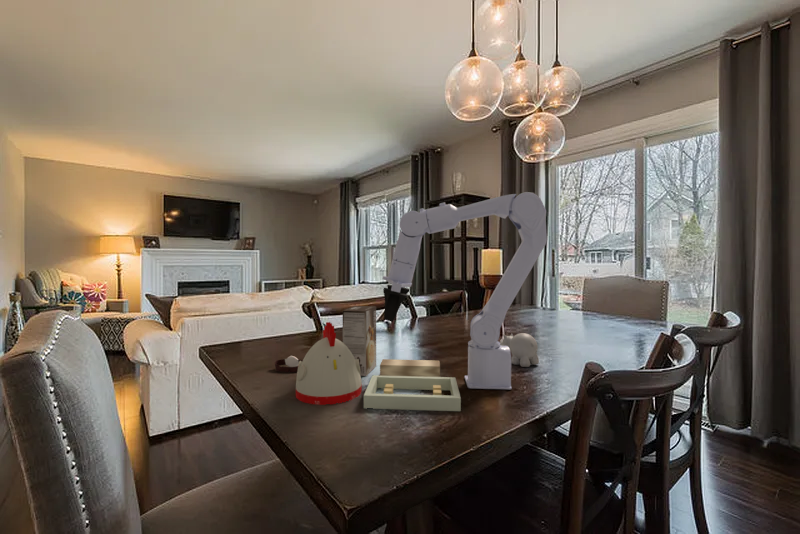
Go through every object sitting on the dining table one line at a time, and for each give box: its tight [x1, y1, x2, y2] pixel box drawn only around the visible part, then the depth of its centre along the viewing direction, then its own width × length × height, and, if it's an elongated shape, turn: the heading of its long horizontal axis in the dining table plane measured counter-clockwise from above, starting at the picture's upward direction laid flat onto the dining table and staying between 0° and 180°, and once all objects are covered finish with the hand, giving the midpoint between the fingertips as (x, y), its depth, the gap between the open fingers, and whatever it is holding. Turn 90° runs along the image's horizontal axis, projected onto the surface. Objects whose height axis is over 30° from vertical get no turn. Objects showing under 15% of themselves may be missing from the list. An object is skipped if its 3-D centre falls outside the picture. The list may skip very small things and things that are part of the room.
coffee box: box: [342, 305, 377, 377], centre depth 97 cm, size 9×6×16 cm
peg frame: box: [363, 374, 462, 412], centre depth 78 cm, size 18×12×2 cm
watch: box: [274, 355, 303, 373], centre depth 97 cm, size 8×5×4 cm, turn 84°
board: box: [379, 358, 441, 377], centre depth 91 cm, size 14×5×4 cm, turn 86°
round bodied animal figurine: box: [499, 332, 540, 368], centre depth 105 cm, size 7×12×8 cm, turn 30°
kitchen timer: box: [295, 321, 363, 406], centre depth 81 cm, size 14×14×15 cm
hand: (390, 317), depth 91 cm, fingers open, 7 cm apart
